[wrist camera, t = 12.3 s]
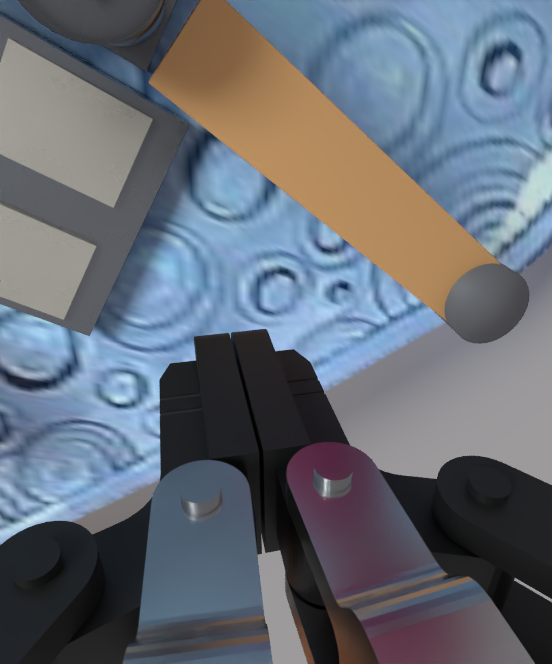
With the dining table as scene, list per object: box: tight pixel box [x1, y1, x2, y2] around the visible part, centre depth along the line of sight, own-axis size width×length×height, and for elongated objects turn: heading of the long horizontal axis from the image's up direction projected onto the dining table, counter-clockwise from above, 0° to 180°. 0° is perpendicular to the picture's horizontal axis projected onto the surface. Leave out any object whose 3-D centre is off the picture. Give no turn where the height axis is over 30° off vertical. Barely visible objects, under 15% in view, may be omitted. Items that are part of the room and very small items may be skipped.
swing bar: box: [149, 0, 529, 343], centre depth 19 cm, size 16×3×4 cm, turn 51°
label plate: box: [0, 13, 189, 336], centre depth 23 cm, size 12×9×2 cm
